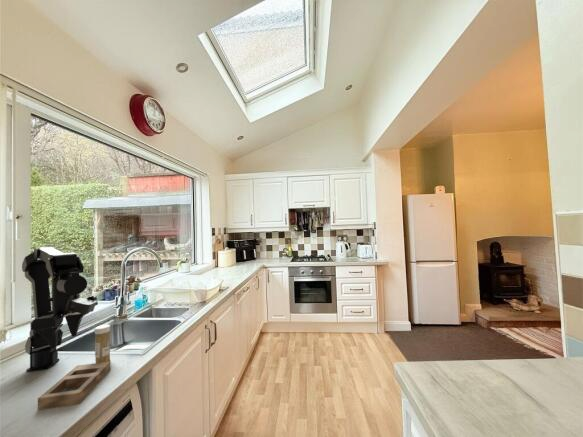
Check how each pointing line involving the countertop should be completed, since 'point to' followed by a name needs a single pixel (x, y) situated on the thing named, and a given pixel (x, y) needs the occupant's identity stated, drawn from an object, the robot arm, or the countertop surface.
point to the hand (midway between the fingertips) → (64, 341)
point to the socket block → (74, 385)
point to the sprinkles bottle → (102, 343)
